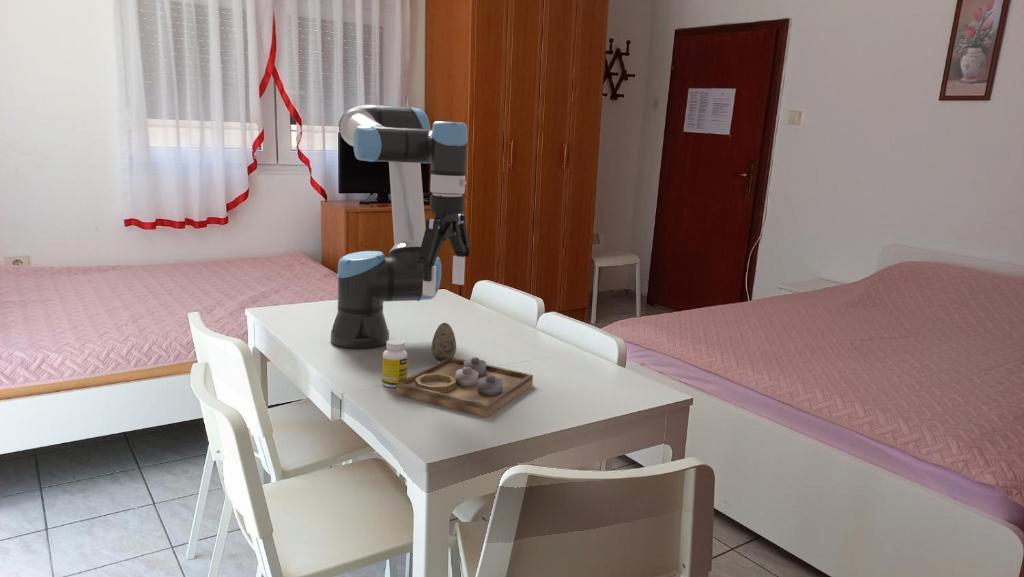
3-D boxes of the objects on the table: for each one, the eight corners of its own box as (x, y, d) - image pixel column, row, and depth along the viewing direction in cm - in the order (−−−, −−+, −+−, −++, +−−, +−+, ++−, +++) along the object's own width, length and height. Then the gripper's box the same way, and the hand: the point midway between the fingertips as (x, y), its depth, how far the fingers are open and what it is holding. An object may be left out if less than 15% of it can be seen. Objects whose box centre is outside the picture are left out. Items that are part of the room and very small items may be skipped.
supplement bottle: (401, 389, 153) (402, 346, 151) (378, 386, 154) (378, 343, 152) (410, 381, 158) (411, 339, 156) (387, 378, 159) (388, 337, 157)
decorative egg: (460, 362, 173) (462, 323, 171) (445, 367, 168) (446, 327, 166) (441, 356, 176) (443, 318, 174) (426, 362, 172) (427, 322, 169)
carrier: (396, 394, 150) (396, 372, 149) (449, 366, 169) (450, 346, 168) (486, 417, 141) (487, 393, 140) (532, 385, 160) (533, 364, 159)
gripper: (434, 200, 140) (431, 303, 145) (487, 192, 162) (482, 281, 167) (402, 196, 143) (399, 297, 147) (458, 189, 165) (454, 277, 170)
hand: (443, 289), depth 157 cm, fingers open, 13 cm apart
